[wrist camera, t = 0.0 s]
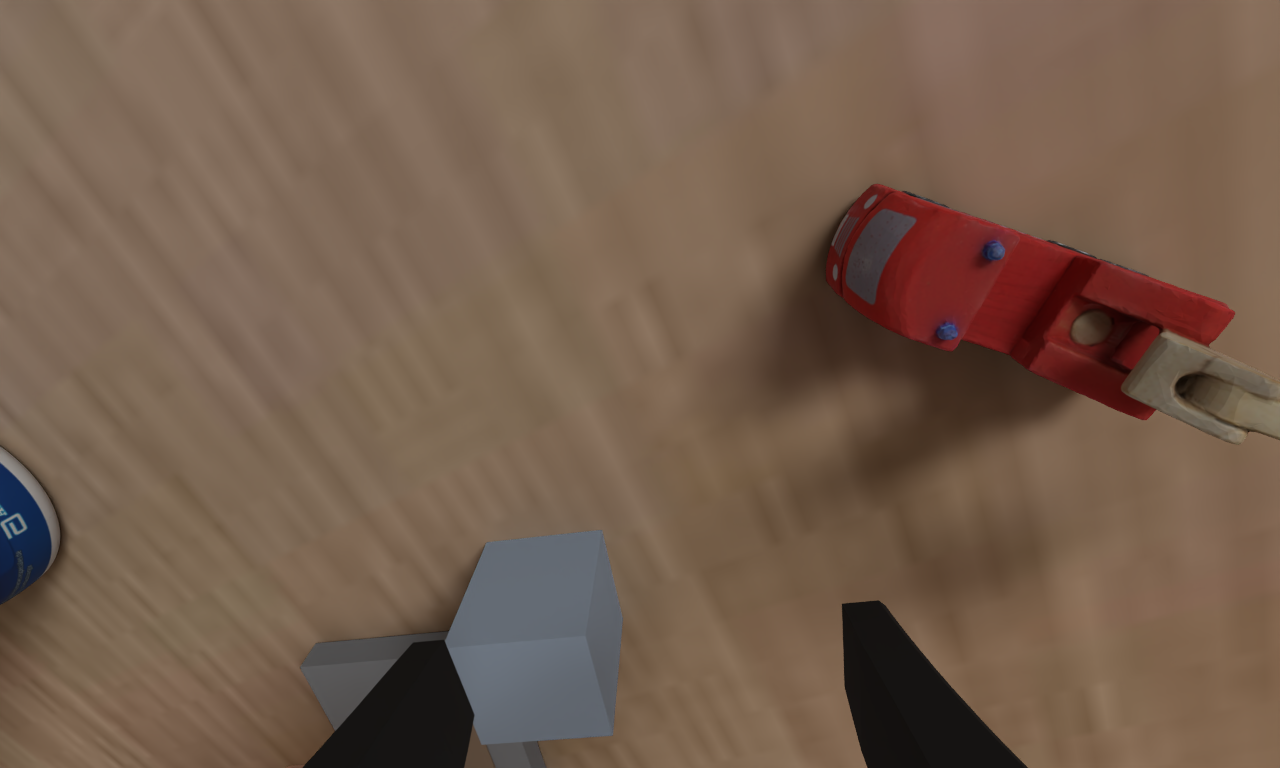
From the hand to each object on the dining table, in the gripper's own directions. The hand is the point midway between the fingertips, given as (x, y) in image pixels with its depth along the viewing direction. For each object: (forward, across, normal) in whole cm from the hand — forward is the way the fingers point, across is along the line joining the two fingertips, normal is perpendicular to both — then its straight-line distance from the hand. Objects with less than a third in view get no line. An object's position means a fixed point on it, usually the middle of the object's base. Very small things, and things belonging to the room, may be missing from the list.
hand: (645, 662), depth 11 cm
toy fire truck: (+10, -12, -2) cm, 16 cm away
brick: (+10, +5, +7) cm, 13 cm away
